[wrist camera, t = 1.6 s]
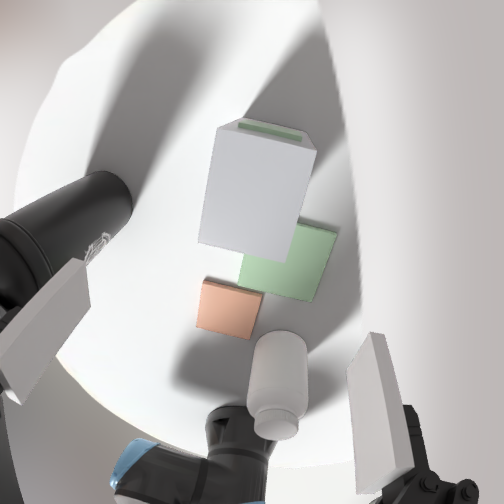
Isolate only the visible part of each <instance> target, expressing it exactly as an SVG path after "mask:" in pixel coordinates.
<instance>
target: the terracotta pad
mask: <svg viewBox="0 0 504 504" xmlns="http://www.w3.org/2000/svg"><path fill="white" fill-rule="evenodd" d="M261 299H262V294H259V293H255V292H251V291H247V290H242V289H238V288H234V287H230V286H226V285H222V284H218V283H213V282H209V281H205V280H204V281H203V283H202V289H201V296H200V303H199V310H198V317H197V325H196V327H198V328H202V329H206V330H210V331H213V332H218V333H222V334H226V335H230V336H234V337H238V338H243V339H247V340H250V336H251V333H252V330H253V326H254V323H255V319H256V316H257V312H258V309H259V306H260V302H261Z"/></svg>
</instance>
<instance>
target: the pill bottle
mask: <svg viewBox="0 0 504 504" xmlns="http://www.w3.org/2000/svg"><path fill="white" fill-rule="evenodd" d="M246 405H247V409H248V411H249V413H250V414H251V416H252V417H254V418H255V424H254V431H255V432H256V434H257V435H258V436H260V437H262V438H264V439H268V440H276V441H278V440H286V439H289V438H292V437H293V436H295V435H296V434H297V432H298V420H299V419H300V418H302V417H303V416H304V414H305V413H306V411H307V408H308V357H307V347H306V344H305V342H304V340H303V339H302V338H301V337H300V336H298V335H297V334H295V333H292V332H289V331H282V330H279V331H272V332H269V333H267V334H265V335H263V336H262V337H261V338H260V339H259V340H258V341H257V343H256V346H255V349H254V355H253V362H252V368H251V375H250V381H249V388H248V394H247V401H246Z"/></svg>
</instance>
